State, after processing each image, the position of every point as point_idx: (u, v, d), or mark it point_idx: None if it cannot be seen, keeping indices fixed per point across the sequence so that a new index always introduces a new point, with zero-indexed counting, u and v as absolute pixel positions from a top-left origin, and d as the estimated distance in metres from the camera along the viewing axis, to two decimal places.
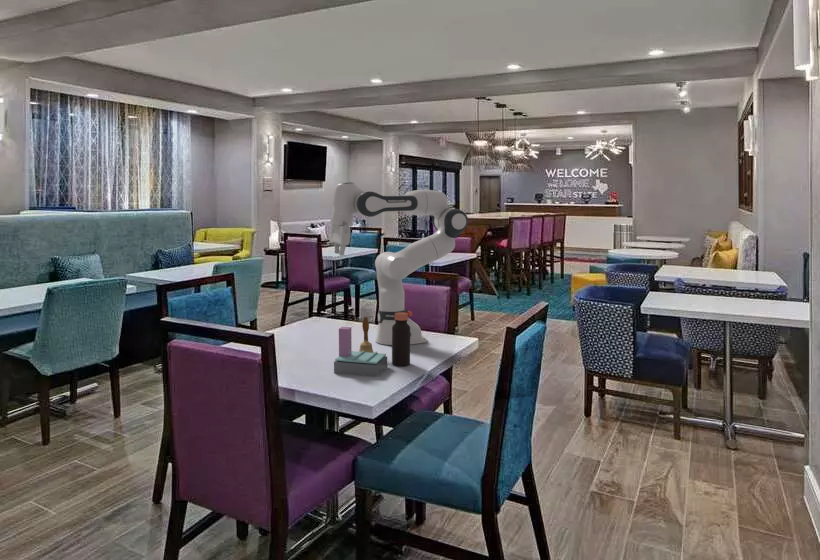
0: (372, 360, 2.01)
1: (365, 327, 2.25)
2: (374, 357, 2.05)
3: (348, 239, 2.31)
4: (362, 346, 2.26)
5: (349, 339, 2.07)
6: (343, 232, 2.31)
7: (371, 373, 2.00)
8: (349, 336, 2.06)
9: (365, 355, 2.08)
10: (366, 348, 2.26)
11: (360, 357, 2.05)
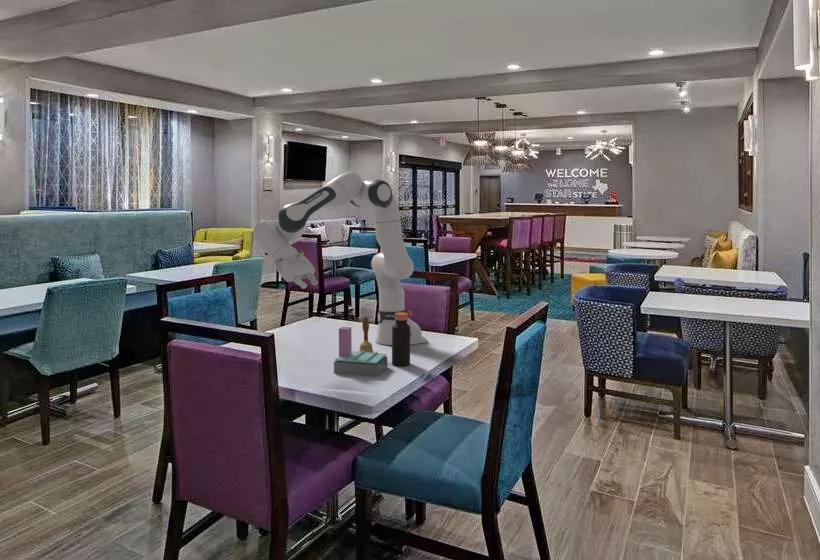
0: (372, 360, 2.01)
1: (365, 327, 2.25)
2: (374, 357, 2.05)
3: (287, 272, 2.01)
4: (362, 346, 2.26)
5: (349, 339, 2.07)
6: (279, 271, 2.02)
7: (371, 373, 2.00)
8: (349, 336, 2.06)
9: (365, 355, 2.08)
10: (366, 348, 2.26)
11: (360, 357, 2.05)
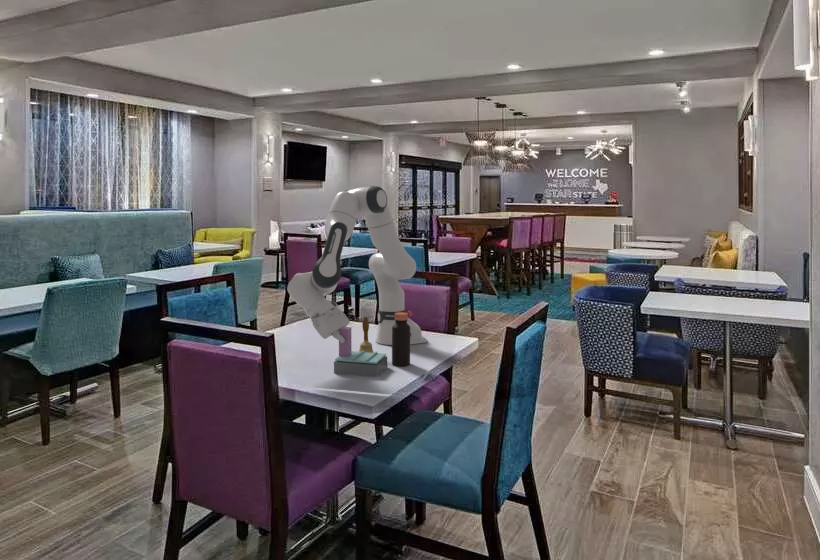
0: (372, 360, 2.01)
1: (365, 327, 2.25)
2: (374, 357, 2.05)
3: (325, 329, 1.98)
4: (362, 346, 2.26)
5: (349, 339, 2.07)
6: (316, 328, 1.99)
7: (371, 373, 2.00)
8: (349, 336, 2.06)
9: (365, 355, 2.08)
10: (366, 348, 2.26)
11: (360, 357, 2.05)
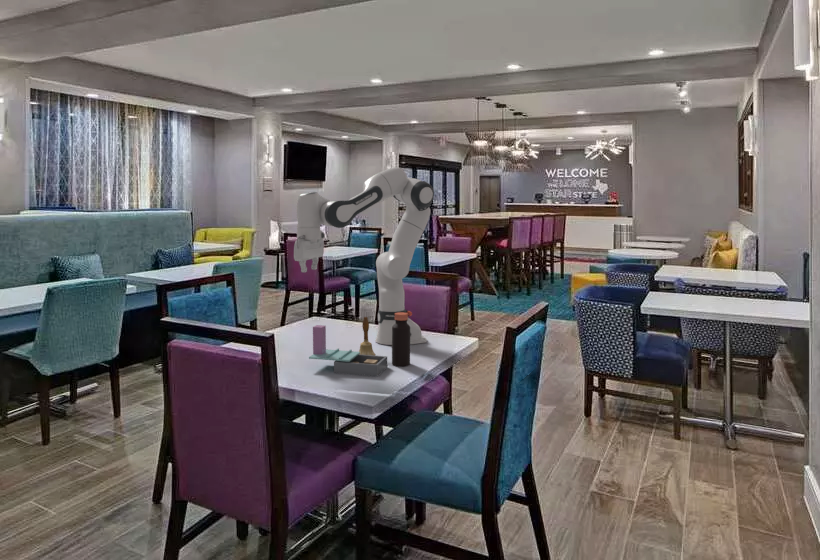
0: (345, 358, 2.04)
1: (365, 327, 2.25)
2: (348, 355, 2.08)
3: (300, 255, 2.12)
4: (362, 346, 2.26)
5: (323, 337, 2.09)
6: (295, 247, 2.12)
7: (371, 373, 2.00)
8: (323, 334, 2.09)
9: (339, 353, 2.10)
10: (366, 348, 2.26)
11: (334, 355, 2.08)
